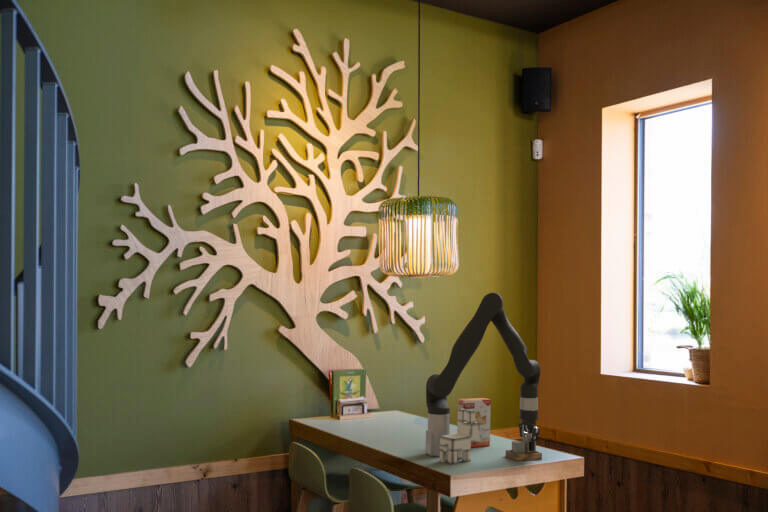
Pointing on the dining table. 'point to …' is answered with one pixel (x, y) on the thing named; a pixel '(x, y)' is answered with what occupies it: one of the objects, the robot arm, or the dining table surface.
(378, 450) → the dining table surface
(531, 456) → the bin
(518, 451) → the grey rectangular block
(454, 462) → the toy llama
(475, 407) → the cracker box
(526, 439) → the beige grey block
